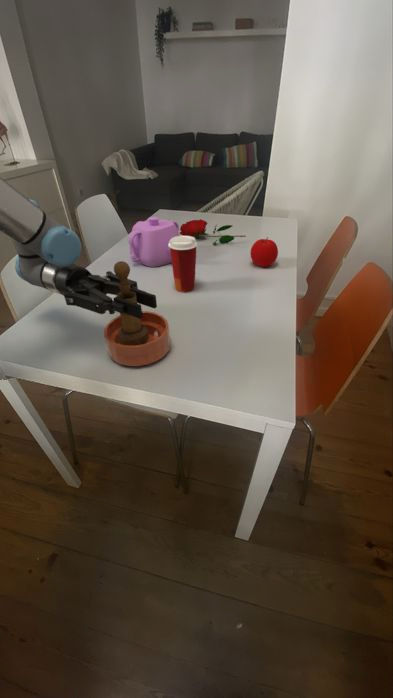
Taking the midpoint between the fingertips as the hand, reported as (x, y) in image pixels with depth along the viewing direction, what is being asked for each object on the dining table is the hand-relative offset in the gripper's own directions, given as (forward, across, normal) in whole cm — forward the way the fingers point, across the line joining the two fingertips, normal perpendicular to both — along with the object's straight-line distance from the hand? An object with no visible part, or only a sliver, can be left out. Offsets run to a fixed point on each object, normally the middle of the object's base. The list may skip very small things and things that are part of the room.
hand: (147, 306), depth 62 cm
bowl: (-6, -2, -14) cm, 15 cm away
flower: (-27, -72, -14) cm, 78 cm away
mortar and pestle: (-5, 0, -10) cm, 12 cm away
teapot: (-35, -47, -14) cm, 60 cm away
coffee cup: (-14, -33, -14) cm, 38 cm away
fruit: (0, -61, -14) cm, 63 cm away
